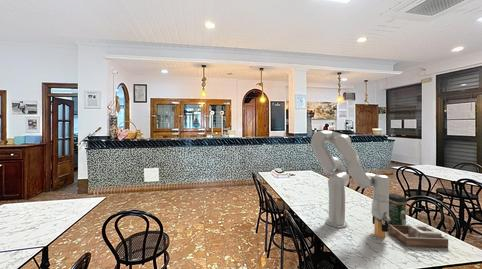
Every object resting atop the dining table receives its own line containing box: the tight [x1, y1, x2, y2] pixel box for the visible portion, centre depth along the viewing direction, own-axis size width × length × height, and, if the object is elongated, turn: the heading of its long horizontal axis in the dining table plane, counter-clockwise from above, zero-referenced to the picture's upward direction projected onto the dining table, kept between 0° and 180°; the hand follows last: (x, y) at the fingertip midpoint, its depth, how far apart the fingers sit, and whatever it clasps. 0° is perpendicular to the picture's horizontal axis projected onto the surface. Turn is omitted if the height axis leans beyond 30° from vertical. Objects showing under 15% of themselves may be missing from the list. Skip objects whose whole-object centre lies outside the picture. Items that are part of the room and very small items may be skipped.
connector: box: [373, 216, 387, 238], centre depth 130 cm, size 4×4×10 cm
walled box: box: [388, 224, 449, 249], centre depth 125 cm, size 16×20×6 cm
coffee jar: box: [388, 192, 408, 225], centre depth 146 cm, size 10×8×19 cm
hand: (380, 227), depth 130 cm, fingers open, 9 cm apart
